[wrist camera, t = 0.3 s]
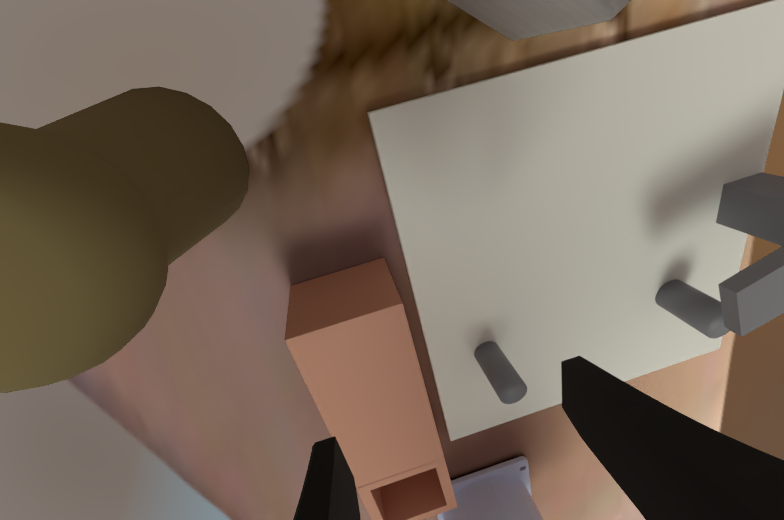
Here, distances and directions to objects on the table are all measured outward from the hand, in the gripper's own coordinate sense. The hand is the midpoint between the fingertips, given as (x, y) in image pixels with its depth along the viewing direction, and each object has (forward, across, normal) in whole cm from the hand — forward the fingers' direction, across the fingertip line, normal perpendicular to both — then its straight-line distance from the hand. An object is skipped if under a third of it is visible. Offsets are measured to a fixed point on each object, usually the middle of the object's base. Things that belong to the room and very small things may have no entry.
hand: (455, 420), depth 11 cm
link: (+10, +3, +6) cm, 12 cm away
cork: (+10, +8, -8) cm, 15 cm away
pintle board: (+10, -11, +3) cm, 15 cm away
